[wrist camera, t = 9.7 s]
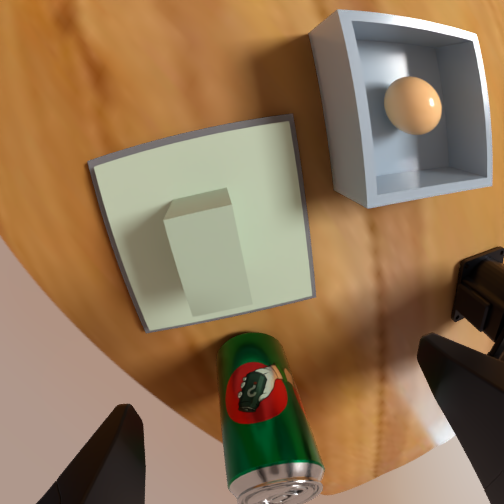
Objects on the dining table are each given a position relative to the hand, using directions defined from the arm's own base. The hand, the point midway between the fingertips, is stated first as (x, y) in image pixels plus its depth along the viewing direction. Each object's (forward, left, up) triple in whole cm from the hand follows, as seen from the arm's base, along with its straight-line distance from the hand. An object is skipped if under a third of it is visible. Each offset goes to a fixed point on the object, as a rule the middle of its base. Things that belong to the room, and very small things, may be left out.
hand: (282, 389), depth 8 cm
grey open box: (-11, -7, -12) cm, 18 cm away
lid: (+2, -1, -12) cm, 12 cm away
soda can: (+1, +9, -12) cm, 15 cm away
